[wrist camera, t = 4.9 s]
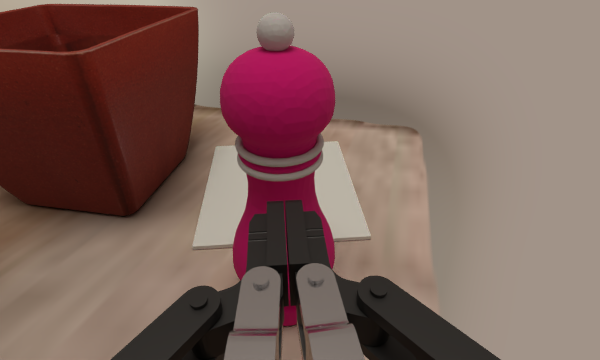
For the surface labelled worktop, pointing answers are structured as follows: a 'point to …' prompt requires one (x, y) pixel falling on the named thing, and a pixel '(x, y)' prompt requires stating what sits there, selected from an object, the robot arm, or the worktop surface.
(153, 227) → the worktop surface
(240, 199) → the mat
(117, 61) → the plant pot
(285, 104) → the pepper mill
